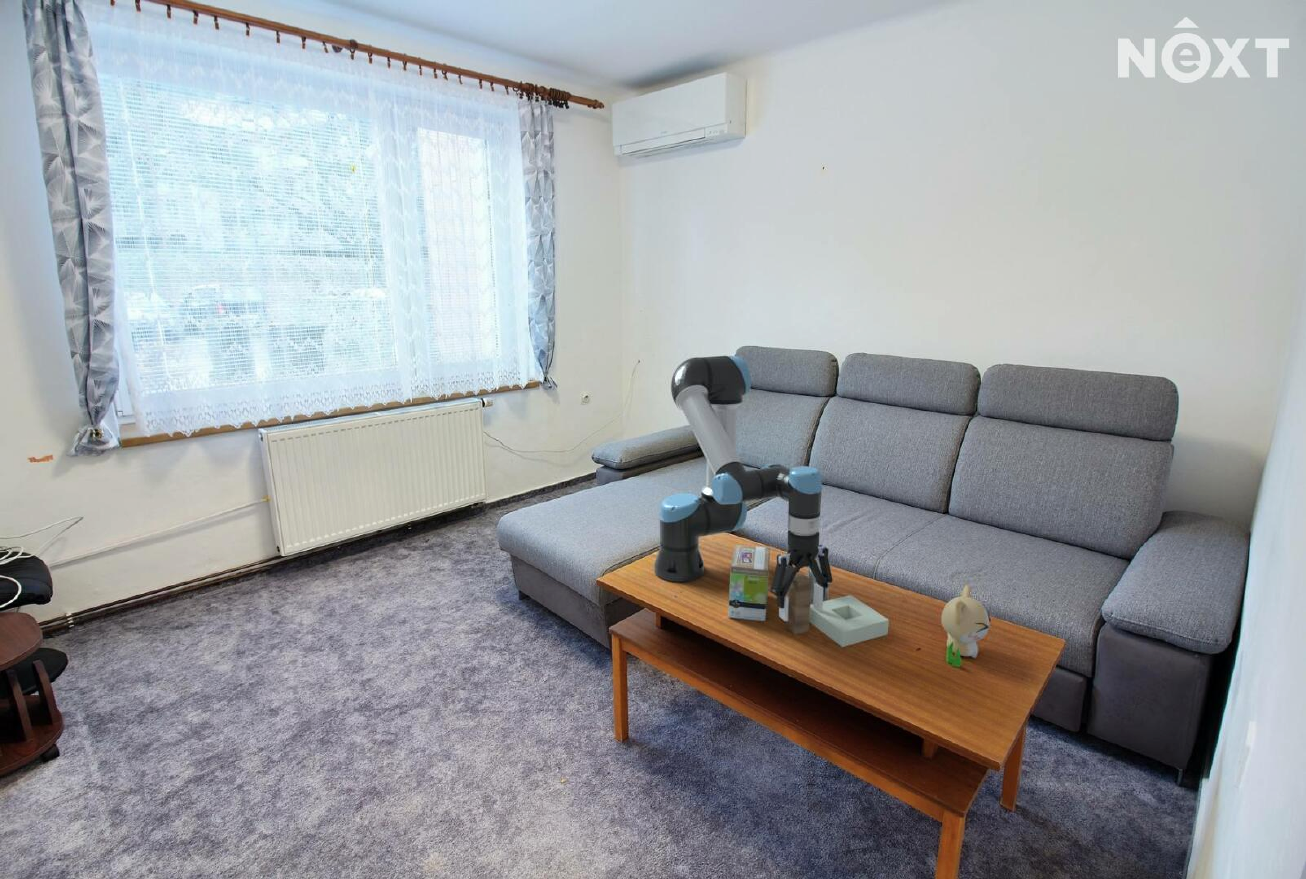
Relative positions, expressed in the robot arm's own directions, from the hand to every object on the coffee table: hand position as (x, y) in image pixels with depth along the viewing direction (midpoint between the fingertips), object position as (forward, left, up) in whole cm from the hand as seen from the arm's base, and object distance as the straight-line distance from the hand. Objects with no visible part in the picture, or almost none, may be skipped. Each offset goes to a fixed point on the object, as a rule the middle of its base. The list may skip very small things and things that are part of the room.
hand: (800, 613), depth 154 cm
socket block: (+4, +11, -4) cm, 13 cm away
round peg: (-9, +12, -4) cm, 16 cm away
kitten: (+24, +28, -4) cm, 37 cm away
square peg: (0, -1, -4) cm, 4 cm away
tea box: (-15, -6, -4) cm, 17 cm away
